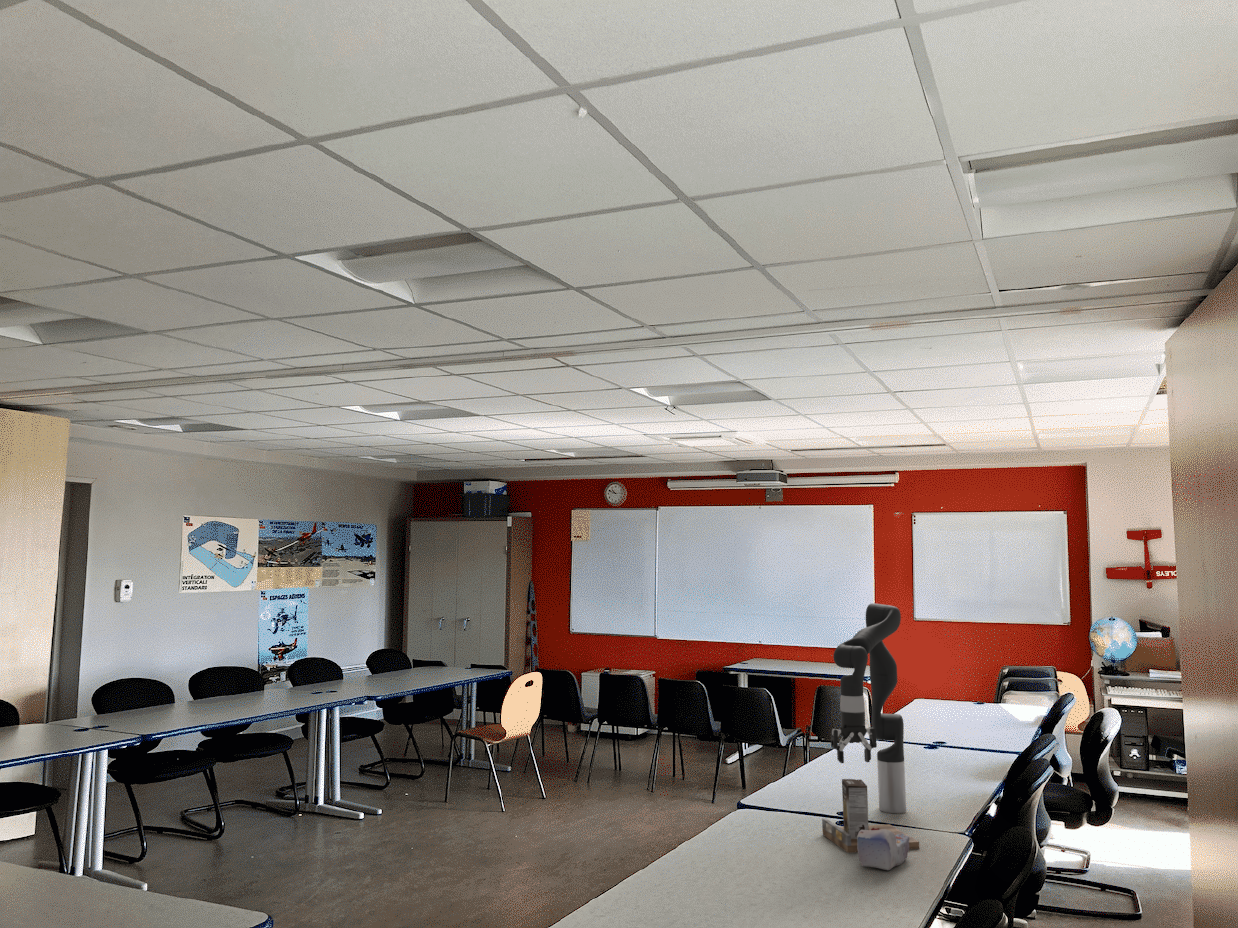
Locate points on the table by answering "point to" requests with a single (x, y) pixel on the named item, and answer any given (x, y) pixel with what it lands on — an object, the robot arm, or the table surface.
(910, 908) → the table surface
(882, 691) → the robot arm
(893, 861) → the cell model
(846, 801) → the coffee box
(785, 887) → the table surface
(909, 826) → the table surface
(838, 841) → the shelf board
